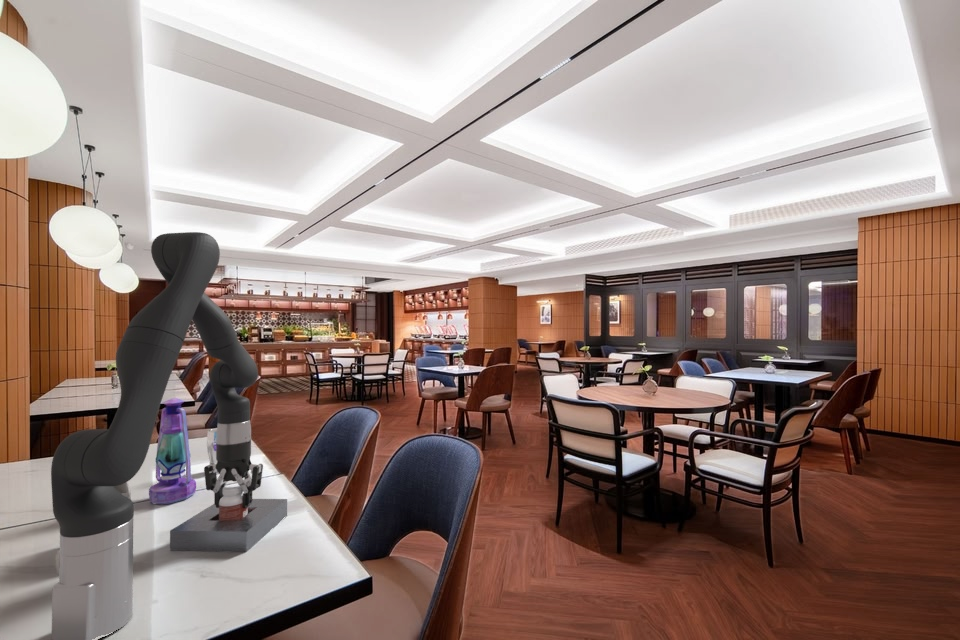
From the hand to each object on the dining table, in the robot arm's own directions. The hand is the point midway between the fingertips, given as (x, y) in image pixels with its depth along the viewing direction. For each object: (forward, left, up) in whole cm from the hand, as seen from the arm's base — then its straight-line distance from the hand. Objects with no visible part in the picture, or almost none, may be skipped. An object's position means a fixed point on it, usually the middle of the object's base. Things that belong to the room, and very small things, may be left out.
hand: (233, 506), depth 103 cm
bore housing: (0, 0, -6) cm, 6 cm away
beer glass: (+43, +34, -7) cm, 55 cm away
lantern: (+20, +32, -7) cm, 38 cm away
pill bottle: (0, 0, -6) cm, 6 cm away
